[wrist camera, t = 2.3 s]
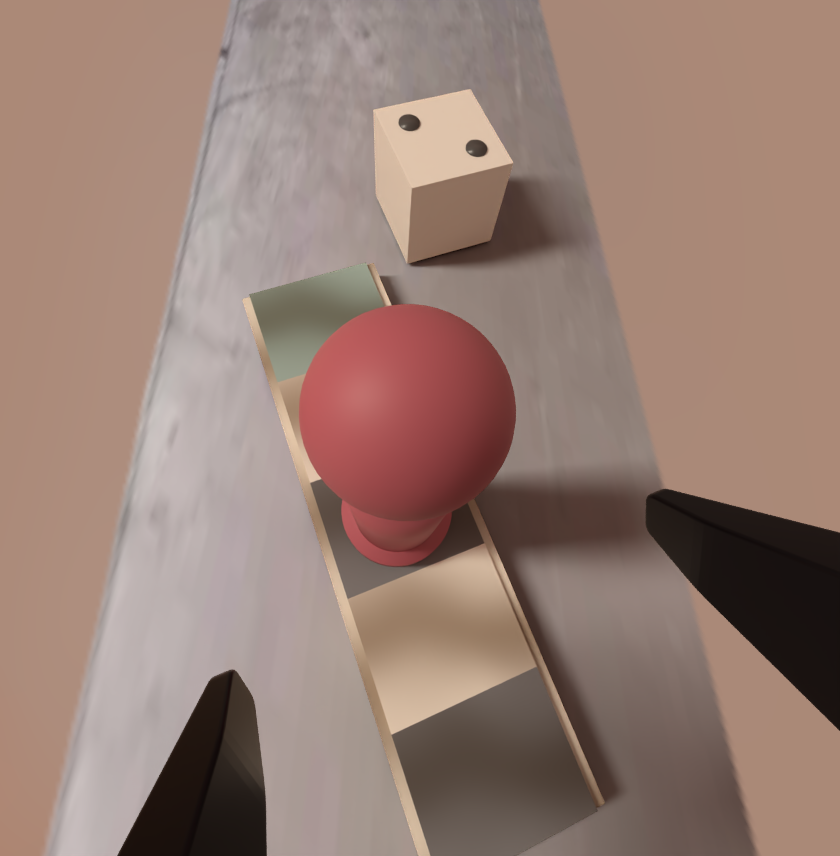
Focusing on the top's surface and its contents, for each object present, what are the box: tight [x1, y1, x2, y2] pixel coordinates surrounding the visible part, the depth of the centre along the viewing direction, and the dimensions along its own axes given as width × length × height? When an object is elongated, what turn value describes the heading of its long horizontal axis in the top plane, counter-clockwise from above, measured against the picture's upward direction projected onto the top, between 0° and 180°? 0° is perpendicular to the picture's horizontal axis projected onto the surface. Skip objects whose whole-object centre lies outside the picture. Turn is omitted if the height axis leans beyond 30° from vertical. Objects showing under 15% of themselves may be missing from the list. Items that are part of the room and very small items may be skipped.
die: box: [374, 89, 513, 264], centre depth 24 cm, size 5×5×5 cm
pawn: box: [299, 304, 516, 567], centre depth 13 cm, size 4×4×14 cm
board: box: [242, 263, 605, 856], centre depth 20 cm, size 25×7×1 cm, turn 21°
